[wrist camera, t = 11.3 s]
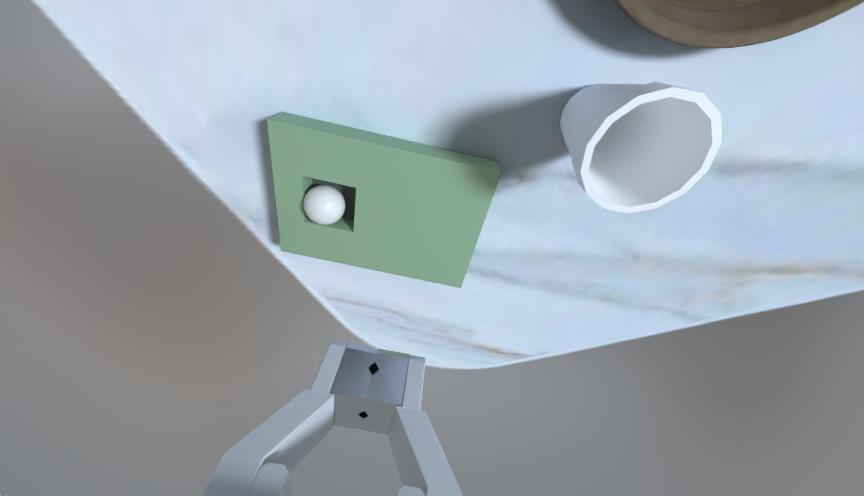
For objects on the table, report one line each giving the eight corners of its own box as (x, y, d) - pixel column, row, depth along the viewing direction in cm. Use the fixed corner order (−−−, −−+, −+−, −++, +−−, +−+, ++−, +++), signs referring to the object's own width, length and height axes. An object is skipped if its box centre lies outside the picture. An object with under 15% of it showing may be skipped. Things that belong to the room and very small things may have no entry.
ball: (325, 195, 35) (353, 186, 39) (292, 185, 37) (322, 177, 41) (327, 234, 38) (353, 222, 42) (296, 223, 39) (323, 212, 43)
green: (282, 111, 36) (266, 119, 33) (498, 161, 37) (501, 172, 35) (292, 237, 47) (281, 250, 44) (460, 272, 48) (460, 287, 45)
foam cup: (657, 107, 33) (749, 146, 22) (584, 174, 37) (631, 231, 27) (598, 44, 30) (671, 54, 19) (527, 124, 35) (555, 167, 24)
